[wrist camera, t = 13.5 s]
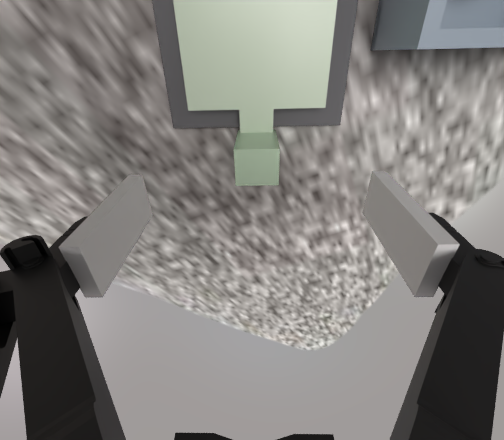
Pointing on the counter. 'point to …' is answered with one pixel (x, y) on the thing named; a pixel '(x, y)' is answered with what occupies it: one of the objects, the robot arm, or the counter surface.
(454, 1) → the tub
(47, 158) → the counter surface
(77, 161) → the counter surface
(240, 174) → the lid
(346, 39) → the mat
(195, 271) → the counter surface
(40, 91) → the counter surface
